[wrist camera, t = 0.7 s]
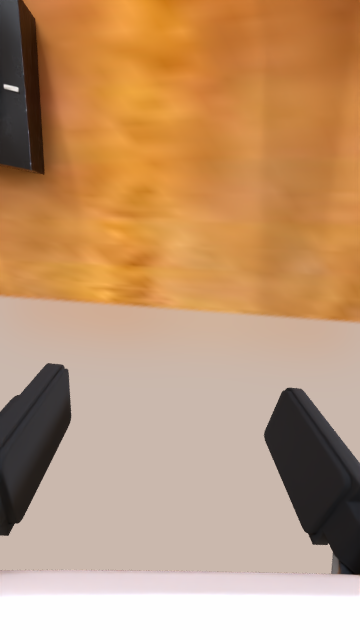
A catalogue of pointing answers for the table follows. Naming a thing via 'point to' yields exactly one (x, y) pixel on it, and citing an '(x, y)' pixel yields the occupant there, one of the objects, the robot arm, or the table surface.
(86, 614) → the robot arm
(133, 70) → the table surface
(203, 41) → the table surface
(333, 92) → the table surface
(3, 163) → the panel
